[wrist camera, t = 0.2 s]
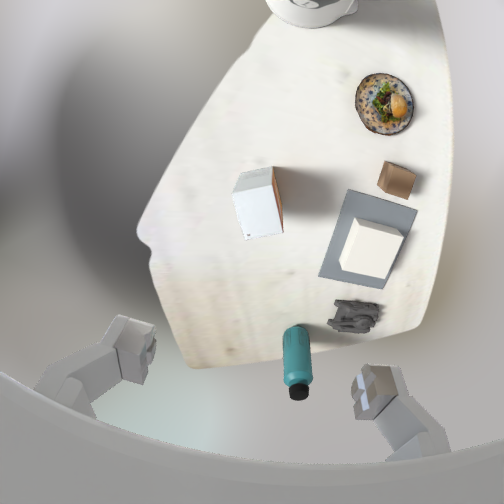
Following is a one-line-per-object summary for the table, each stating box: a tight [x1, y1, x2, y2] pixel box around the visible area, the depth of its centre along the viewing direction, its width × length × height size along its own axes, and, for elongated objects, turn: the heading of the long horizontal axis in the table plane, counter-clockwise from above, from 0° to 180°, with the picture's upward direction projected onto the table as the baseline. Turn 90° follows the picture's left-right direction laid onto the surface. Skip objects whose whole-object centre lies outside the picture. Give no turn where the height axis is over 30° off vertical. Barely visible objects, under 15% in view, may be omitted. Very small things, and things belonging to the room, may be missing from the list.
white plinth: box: [339, 217, 404, 279], centre depth 58 cm, size 10×10×4 cm
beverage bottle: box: [283, 326, 313, 401], centre depth 64 cm, size 6×7×20 cm
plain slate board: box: [318, 189, 417, 289], centre depth 60 cm, size 20×16×1 cm
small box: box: [232, 166, 283, 240], centre depth 50 cm, size 8×6×13 cm
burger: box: [355, 73, 414, 136], centre depth 43 cm, size 12×12×8 cm
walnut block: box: [377, 161, 416, 200], centre depth 50 cm, size 5×5×5 cm
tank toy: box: [327, 300, 379, 334], centre depth 67 cm, size 12×10×5 cm
